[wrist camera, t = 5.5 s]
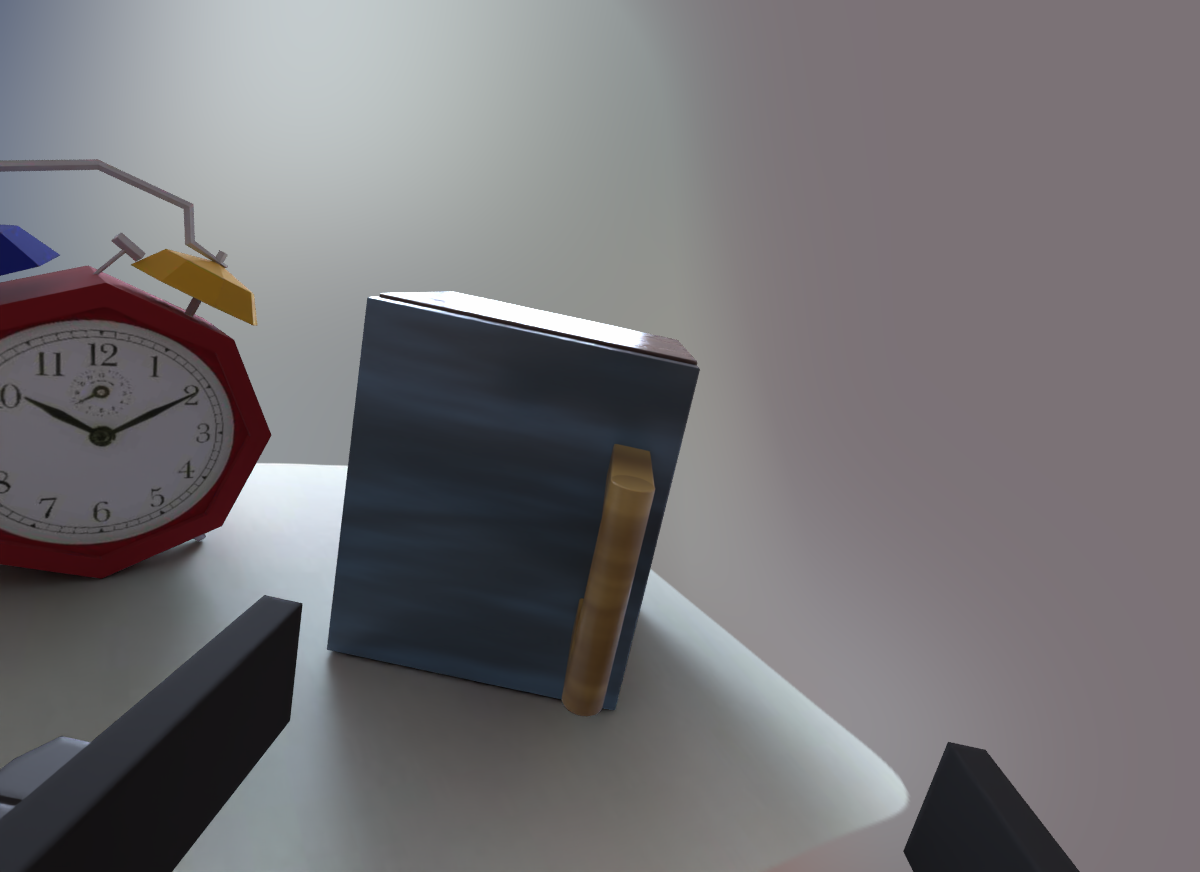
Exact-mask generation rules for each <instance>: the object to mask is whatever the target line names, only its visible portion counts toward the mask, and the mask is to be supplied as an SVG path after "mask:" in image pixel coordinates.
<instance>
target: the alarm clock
mask: <svg viewBox="0 0 1200 872" xmlns="http://www.w3.org/2000/svg"><path fill="white" fill-rule="evenodd" d="M46 170H47V171H48V170H100V171H102V172H104V173H106V174H108V175H111V176H113V177H115V178H117V179H119V180H121V181H124V182H126V183H128V184H130V185H132V186H135V187H137V188H139V189H141V190H143V191H146V192H148V193H150V194H152V195H154V196H156V197H159V198H161V199H163V200H165V201H167V202H170V203H172V204H174V205H176V206H178V207H181V208H183V209H184V226H185V245H187V246H188V247H190V248H192V249H193V250H195V251H197V252H198V253H200V254H202V255H203V256H205V257H207V258H209V259H210V260H212V261H210V260H206V259H202V258H199V257H195V256H191V255H187V254H184V253H179V252H176V251H172V250H168V249H165V250H162V251H160V252H158V253H156V254H153V255H151V256H149V257H147V258H145V259H142V260H140V259H141V258H143V256H144V255H145V253H144V252H143V251H142V250H141V249H140V248H139V247H138V246H136V245H135V244H134V243H133V242H132V241H131V240H130V239H128V238H127V237H126V236H125V235H124V234H123V233H120V234H118V235H116V236H115V237H114V238H113V239H112V242H113V243H115V244H116V245H117V246H118V247H119V248H121V249H122V250H121V251H120V252H119V253H118V254H117V255H115V256H114V257H113V258H112V259H110V260H109V261H108V262H107V263H106V264H104V265H103V266H102V267H100V268H99V269H98V270H97V269H94V268H92V267H90V266H83V267H78V268H73V269H68V270H62V271H57V272H52V273H47V274H42V275H37V276H32V277H26V278H22V279H16V280H11V281H6V282H1V283H0V564H2V565H9V566H16V567H23V568H30V569H37V570H44V571H51V572H58V573H65V574H72V575H79V576H86V577H93V578H100V579H102V578H104V577H107V576H109V575H111V574H113V573H116V572H118V571H120V570H123V569H125V568H127V567H129V566H132V565H134V564H136V563H139V562H141V561H143V560H145V559H148V558H150V557H152V556H154V555H157V554H159V553H161V552H164V551H166V550H168V549H170V548H173V547H175V546H177V545H180V544H182V543H184V542H186V541H189V540H191V539H193V538H194V539H195V540H196V541H198V542H199V541H201V540H202V539H204V538H205V537H206V536H205V533H207V532H209V531H211V530H214V529H216V528H218V527H221V526H222V525H223V523H224V521H225V519H226V518H227V516H228V514H229V512H230V510H231V508H232V507H233V505H234V503H235V501H236V499H237V498H238V496H239V494H240V492H241V490H242V488H243V487H244V485H245V483H246V481H247V479H248V477H249V476H250V474H251V472H252V470H253V468H254V466H255V465H256V463H257V461H258V459H259V457H260V455H261V454H262V452H263V450H264V448H265V446H266V444H267V443H268V441H269V439H270V437H271V433H270V430H269V428H268V425H267V423H266V420H265V418H264V415H263V413H262V410H261V408H260V405H259V402H258V400H257V397H256V395H255V392H254V390H253V387H252V385H251V382H250V380H249V377H248V374H247V372H246V369H245V367H244V364H243V362H242V359H241V357H240V354H239V352H238V349H237V347H236V344H235V341H234V340H233V339H232V338H230V337H229V336H227V335H226V334H225V333H223V332H222V331H221V330H219V329H218V328H216V327H215V326H214V325H212V324H211V323H209V322H208V321H207V320H205V319H204V318H202V317H199V316H197V315H195V312H196V310H197V309H198V307H199V304H200V303H201V301H202V302H204V303H206V304H208V305H210V306H212V307H214V308H217V309H218V310H221V311H223V312H225V313H227V314H230V315H232V316H234V317H236V318H238V319H240V320H243V321H245V322H247V323H249V324H251V325H255V326H256V325H257V318H256V308H255V299H254V294H253V293H252V292H251V291H250V290H249V289H247V288H246V287H245V286H244V285H243V284H242V283H241V282H239V281H238V280H237V279H236V278H235V277H234V276H233V275H232V274H230V273H229V272H228V271H227V270H226V269H225V268H227V267H228V266H227V265H225V264H224V263H223V262H224V260H225V258H226V257H227V254H225V253H224V252H222V251H220V250H219V252H218V254H217V256H216V257H215V256H214V255H212V254H211V253H209V252H208V251H207V250H206V249H204V248H203V247H202V246H201V245H199V244H198V243H197V242H195V236H194V209H193V204H192V203H190V202H188V201H185V200H183V199H181V198H179V197H177V196H175V195H173V194H171V193H168V192H166V191H164V190H162V189H160V188H158V187H155V186H153V185H151V184H149V183H147V182H145V181H143V180H140V179H138V178H136V177H134V176H132V175H130V174H127V173H125V172H123V171H121V170H119V169H117V168H115V167H113V166H110V165H108V164H106V163H104V162H102V161H100V160H20V161H19V160H18V161H17V160H16V161H0V172H1V171H46ZM124 253H127V254H128V255H129V256H130V257H131V258H133V260H135V261H138V260H140V261H138V262H135V263H133V264H131V265H132V266H134V267H135V268H137V269H139V270H141V271H143V272H145V273H147V274H148V275H150V276H152V277H154V278H156V279H158V280H159V281H161V282H163V283H165V284H167V285H169V286H172V287H173V288H175V289H178V290H180V291H182V292H184V293H186V294H188V295H190V296H192V297H193V299H192V300H191V302H190V304H189V306H188V307H187V309H186V310H184V309H182V308H180V307H177V306H175V305H173V304H171V303H169V302H167V301H164V300H162V299H160V298H158V297H156V296H153V295H151V294H149V293H147V292H145V291H143V290H140V289H138V288H136V287H134V286H132V285H129V284H127V283H125V282H123V281H121V280H118V279H116V278H114V277H112V276H110V275H108V274H105V273H103V272H102V271H103V270H105V269H106V268H107V267H108V266H110V265H111V264H112V263H113V262H115V261H116V260H117V259H118V258H119V257H121V256H122V255H123V254H124ZM58 256H60V255H59V254H58V253H56V252H55V251H53V250H52V249H51V248H49V247H48V246H46V245H45V244H43V243H42V242H41V241H39V240H37V239H36V238H35V237H33V236H32V235H30V234H29V233H27V232H26V231H25V230H23V229H21V228H20V227H18V226H14V225H0V276H1V275H5V274H9V273H13V272H17V271H22V270H26V269H30V268H34V267H38V266H41V265H43V264H45V263H47V262H48V261H50V260H52V259H54V258H56V257H58Z"/></svg>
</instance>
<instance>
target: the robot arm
mask: <svg viewBox="0 0 1200 872" xmlns="http://www.w3.org/2000/svg"><path fill="white" fill-rule="evenodd" d="M301 612H302V603H298V602H293V601H289V600H284V599H280V598H275V597H270V596H266V595H264V596H263V597H262V598H261V599H259V600H258V601H257V602H256V603H255V604H254V605H252V606H251V607H250V608H249V609H248V610H246V611H245V612H244V613H243V614H242V615H241V616H239V617H238V618H237V619H236V620H235V621H233V622H232V623H231V624H230V625H229V626H228V627H226V628H225V629H224V630H223V631H222V632H221V633H219V634H218V635H217V636H216V637H215V638H213V639H212V640H211V641H210V642H209V643H208V644H206V645H205V646H204V647H203V648H202V649H200V650H199V651H198V652H197V653H196V654H195V655H193V656H192V657H191V658H190V659H189V660H187V661H186V662H185V663H184V664H183V665H182V666H180V667H179V668H178V669H177V670H176V671H174V672H173V673H172V674H171V675H170V676H169V677H167V678H166V679H165V680H164V681H163V682H161V683H160V684H159V685H158V686H157V687H156V688H154V689H153V690H152V691H151V692H150V693H148V694H147V695H146V696H145V697H144V698H143V699H141V700H140V701H139V702H138V703H137V704H135V705H134V706H133V707H132V708H131V709H130V710H128V711H127V712H126V713H125V714H124V715H122V716H121V717H120V718H119V719H118V720H117V721H115V722H114V723H113V724H112V725H111V726H109V727H108V728H107V729H106V730H105V731H104V732H102V733H101V734H100V735H99V736H98V737H96V738H95V739H94V740H93V741H92V742H87V741H82V740H78V739H73V738H68V737H63V736H61V737H58V738H56V739H54V740H52V741H50V742H48V743H46V744H44V745H42V746H40V747H38V748H36V749H34V750H32V751H29V752H27V753H25V754H23V755H21V756H19V757H17V758H15V759H13V760H12V761H11V762H9V763H8V764H7V765H6V766H4V767H3V768H2V769H0V872H172V871H173V870H174V868H175V867H176V866H177V865H178V863H179V862H180V861H181V859H182V858H183V857H184V856H185V854H186V853H187V852H188V851H189V849H190V848H191V847H192V845H193V844H194V843H195V842H196V840H197V839H198V838H199V836H200V835H201V834H202V833H203V831H204V830H205V829H206V827H207V826H208V825H209V824H210V822H211V821H212V820H213V818H214V817H215V816H216V815H217V813H218V812H219V811H220V810H221V808H222V807H223V806H224V804H225V803H226V802H227V801H228V799H229V798H230V797H231V795H232V794H233V793H234V792H235V790H236V789H237V788H238V786H239V785H240V784H241V783H242V781H243V780H244V779H245V778H246V776H247V775H248V774H249V772H250V771H251V770H252V769H253V767H254V766H255V765H256V763H257V762H258V761H259V760H260V758H261V757H262V756H263V754H264V753H265V752H266V751H267V749H268V748H269V747H270V745H271V744H272V743H273V742H274V740H275V739H276V738H277V737H278V735H279V734H280V733H281V731H282V730H283V729H284V728H285V726H286V725H287V724H288V722H289V721H290V715H291V706H292V697H293V687H294V678H295V668H296V659H297V650H298V640H299V631H300V622H301ZM904 854H905V856H906V858H907V860H908V862H909V864H910V866H911V868H912V870H913V872H1079V870H1078V869H1077V868H1076V866H1075V865H1074V864H1073V863H1072V861H1071V860H1070V859H1069V858H1068V856H1067V855H1066V853H1065V852H1064V851H1063V850H1062V848H1061V847H1060V846H1059V844H1058V843H1057V842H1056V841H1055V839H1054V838H1053V837H1052V836H1051V834H1050V833H1049V831H1048V830H1047V829H1046V828H1045V826H1044V825H1043V824H1042V822H1041V821H1040V820H1039V819H1038V817H1037V816H1036V815H1035V813H1034V812H1033V811H1032V810H1031V809H1030V807H1029V806H1028V804H1027V803H1026V802H1025V801H1024V799H1023V798H1022V797H1021V795H1020V794H1019V793H1018V792H1017V790H1016V789H1015V788H1014V786H1013V785H1012V784H1011V782H1010V781H1009V780H1008V779H1007V777H1006V776H1005V775H1004V773H1003V772H1002V771H1001V769H1000V768H999V767H998V766H997V764H996V763H995V762H994V760H993V759H992V758H991V756H990V755H989V754H988V753H987V751H986V750H983V749H979V748H974V747H969V746H964V745H960V744H955V743H951V742H948V743H947V746H946V749H945V751H944V753H943V756H942V758H941V761H940V763H939V766H938V768H937V771H936V773H935V775H934V778H933V780H932V782H931V785H930V788H929V790H928V792H927V795H926V797H925V800H924V803H923V805H922V807H921V810H920V812H919V814H918V817H917V819H916V822H915V824H914V827H913V829H912V831H911V834H910V836H909V839H908V841H907V844H906V846H905V849H904Z"/></svg>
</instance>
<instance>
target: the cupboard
mask: <svg viewBox="0 0 1200 872" xmlns="http://www.w3.org/2000/svg"><path fill="white" fill-rule="evenodd" d="M380 298H385V299H390V300H394V301H399V302H404V303H408V304H413V305H418V306H422V307H427V308H432V309H436V310H441V311H446V312H450V313H455V314H460V315H464V316H469V317H474V318H478V319H483V320H487V321H492V322H497V323H501V324H506V325H511V326H515V327H520V328H525V329H529V330H534V331H539V332H543V333H548V334H553V335H557V336H562V337H567V338H571V339H576V340H581V341H585V342H590V343H595V344H599V345H604V346H609V347H613V348H618V349H622V350H627V351H632V352H636V353H641V354H646V355H650V356H655V357H660V358H664V359H669V360H674V361H678V362H683V363H688V364H692V365H697V361H696V360H695V359H694V358H693V356H692V355H691V354H690V353H689V352H688V351H687V350H686V349H685V348H684V346H683V345H682V344H681V343H680V342H679V341H678V340H675V339H671V338H666V337H662V336H656V335H652V334H647V333H643V332H638V331H634V330H629V329H624V328H620V327H615V326H610V325H605V324H601V323H596V322H591V321H587V320H582V319H578V318H573V317H568V316H564V315H559V314H555V313H549V312H545V311H540V310H536V309H531V308H526V307H522V306H517V305H513V304H508V303H503V302H498V301H494V300H489V299H485V298H480V297H475V296H471V295H466V294H461V293H457V292H452V291H450V292H449V291H448V292H412V293H381V294H380Z"/></svg>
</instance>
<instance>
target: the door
mask: <svg viewBox="0 0 1200 872" xmlns="http://www.w3.org/2000/svg"><path fill="white" fill-rule="evenodd" d="M699 371H700V369H699V367H698V366H697V365H692V364H688V363H683V362H678V361H674V360H669V359H664V358H660V357H655V356H650V355H646V354H641V353H636V352H632V351H627V350H622V349H618V348H613V347H609V346H604V345H599V344H595V343H590V342H585V341H581V340H576V339H571V338H567V337H562V336H557V335H553V334H548V333H543V332H539V331H534V330H529V329H525V328H520V327H515V326H511V325H506V324H501V323H497V322H492V321H487V320H483V319H478V318H474V317H469V316H464V315H460V314H455V313H450V312H446V311H441V310H436V309H432V308H427V307H422V306H418V305H413V304H408V303H404V302H399V301H394V300H390V299H385V298H380V297H368V298H367V306H366V315H365V323H364V332H363V341H362V349H361V358H360V367H359V376H358V384H357V393H356V403H355V410H354V419H353V428H352V436H351V446H350V454H349V463H348V471H347V480H346V489H345V497H344V506H343V515H342V523H341V532H340V541H339V549H338V558H337V567H336V576H335V584H334V593H333V602H332V610H331V619H330V628H329V637H328V645H327V649H328V650H332V651H337V652H341V653H346V654H351V655H355V656H360V657H365V658H370V659H374V660H379V661H384V662H388V663H393V664H398V665H402V666H407V667H412V668H417V669H421V670H426V671H431V672H435V673H440V674H445V675H450V676H454V677H459V678H464V679H468V680H473V681H478V682H482V683H487V684H492V685H497V686H501V687H506V688H511V689H515V690H520V691H525V692H530V693H534V694H539V695H544V696H548V697H553V698H558V699H562V702H563V705H564V706H565V707H566V709H568V710H569V711H570V712H572V713H574V714H576V715H580V716H593V715H596V714H598V713H599V712H600V711H601V709H602V708H605V709H610V710H615V708H616V704H617V700H618V696H619V692H620V688H621V684H622V680H623V676H624V672H625V668H626V664H627V660H628V656H629V652H630V648H631V644H632V640H633V636H634V632H635V628H636V624H637V620H638V616H639V612H640V608H641V604H642V600H643V596H644V592H645V588H646V584H647V580H648V576H649V572H650V568H651V564H652V560H653V555H654V551H655V547H656V544H657V539H658V535H659V532H660V528H661V524H662V519H663V516H664V512H665V507H666V503H667V499H668V495H669V491H670V487H671V483H672V479H673V475H674V471H675V467H676V463H677V459H678V455H679V451H680V447H681V443H682V439H683V435H684V431H685V427H686V423H687V419H688V415H689V411H690V407H691V403H692V399H693V395H694V391H695V387H696V383H697V379H698V375H699Z"/></svg>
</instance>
